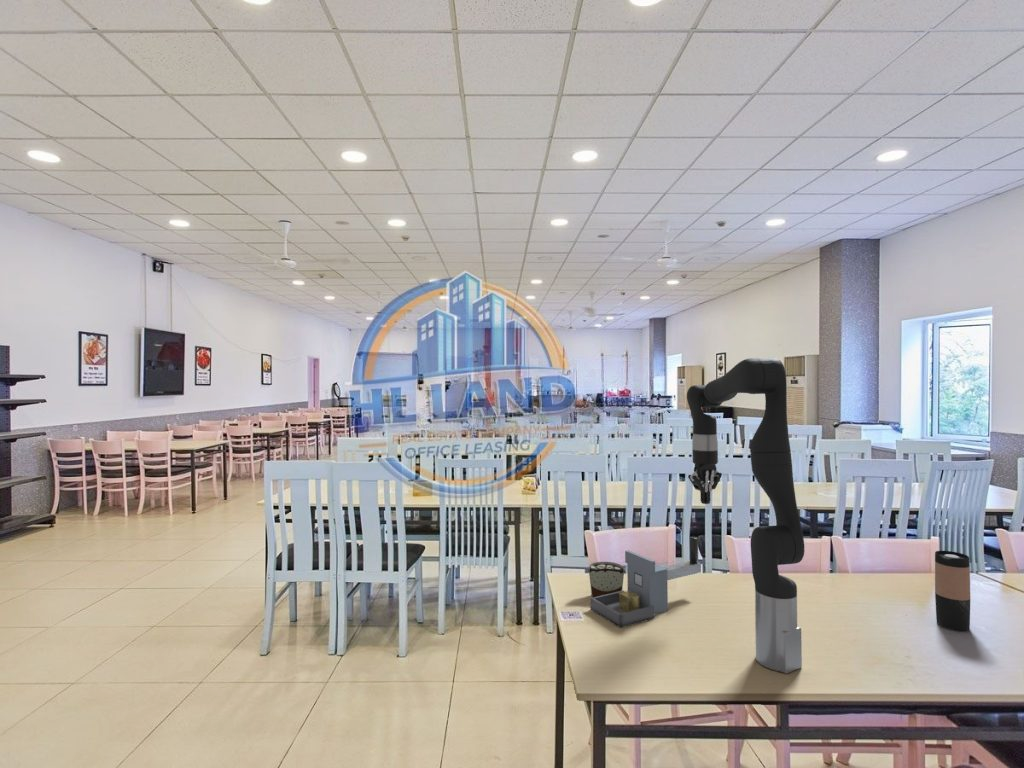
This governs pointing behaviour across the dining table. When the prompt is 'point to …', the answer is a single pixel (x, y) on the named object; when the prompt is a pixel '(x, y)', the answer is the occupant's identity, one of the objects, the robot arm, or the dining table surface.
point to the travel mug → (952, 590)
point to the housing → (647, 582)
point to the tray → (619, 610)
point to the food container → (605, 578)
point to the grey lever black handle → (681, 565)
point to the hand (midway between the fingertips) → (705, 503)
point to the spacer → (628, 601)
